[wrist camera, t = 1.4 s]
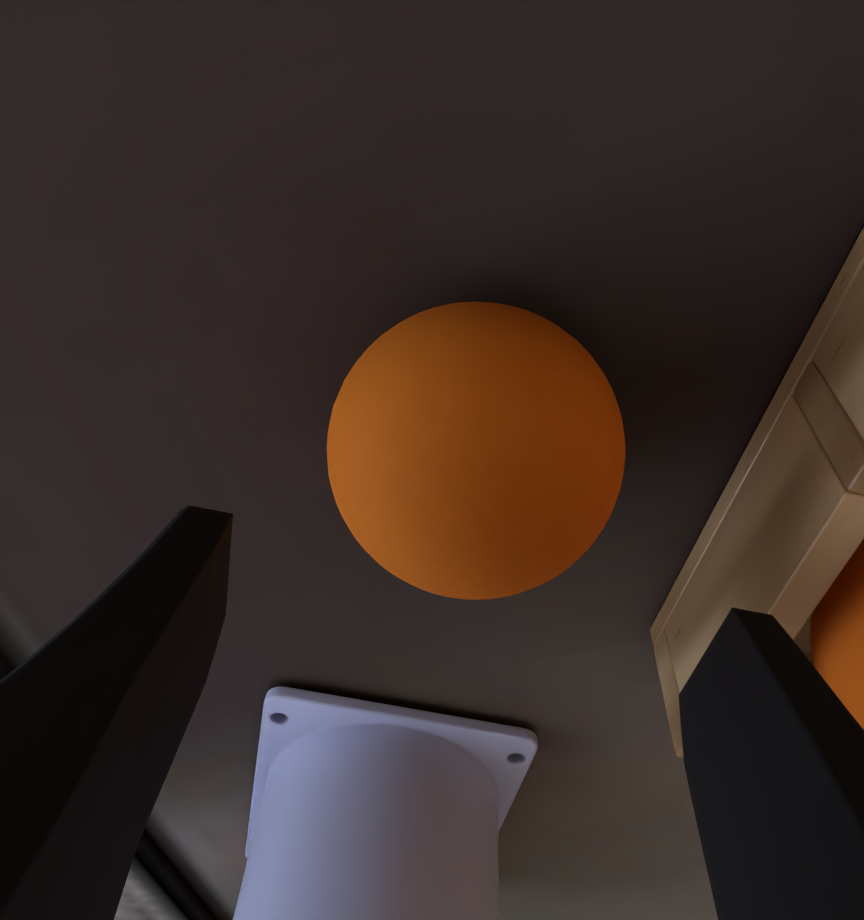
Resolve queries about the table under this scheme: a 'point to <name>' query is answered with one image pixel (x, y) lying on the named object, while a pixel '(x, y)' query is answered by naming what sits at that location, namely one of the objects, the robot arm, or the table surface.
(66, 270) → the table surface
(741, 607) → the tray
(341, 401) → the clementine
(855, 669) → the rack clementine
